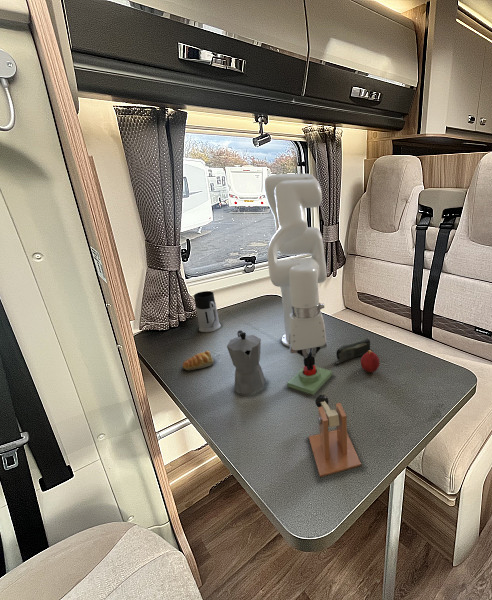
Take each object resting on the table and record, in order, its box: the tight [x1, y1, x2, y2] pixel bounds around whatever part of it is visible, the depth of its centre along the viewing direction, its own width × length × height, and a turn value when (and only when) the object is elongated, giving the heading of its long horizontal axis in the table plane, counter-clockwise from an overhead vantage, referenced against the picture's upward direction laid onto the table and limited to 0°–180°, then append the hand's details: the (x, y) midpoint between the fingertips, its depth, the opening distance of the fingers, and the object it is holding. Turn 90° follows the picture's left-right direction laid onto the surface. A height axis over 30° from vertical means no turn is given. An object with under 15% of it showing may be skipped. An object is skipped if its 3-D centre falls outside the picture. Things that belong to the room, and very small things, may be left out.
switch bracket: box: [308, 402, 362, 478], centre depth 69 cm, size 11×9×12 cm
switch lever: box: [314, 394, 340, 428], centre depth 72 cm, size 13×3×3 cm, turn 16°
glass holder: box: [193, 290, 222, 333], centre depth 129 cm, size 9×14×15 cm, turn 43°
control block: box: [286, 365, 333, 396], centre depth 95 cm, size 11×9×4 cm
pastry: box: [182, 350, 215, 371], centre depth 106 cm, size 9×7×4 cm
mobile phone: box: [334, 338, 371, 365], centre depth 108 cm, size 5×3×15 cm
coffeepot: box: [226, 329, 267, 395], centre depth 92 cm, size 15×9×18 cm, turn 25°
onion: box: [360, 349, 380, 373], centre depth 99 cm, size 6×6×8 cm
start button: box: [303, 365, 316, 376], centre depth 94 cm, size 4×4×2 cm
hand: (309, 367), depth 93 cm, fingers closed
